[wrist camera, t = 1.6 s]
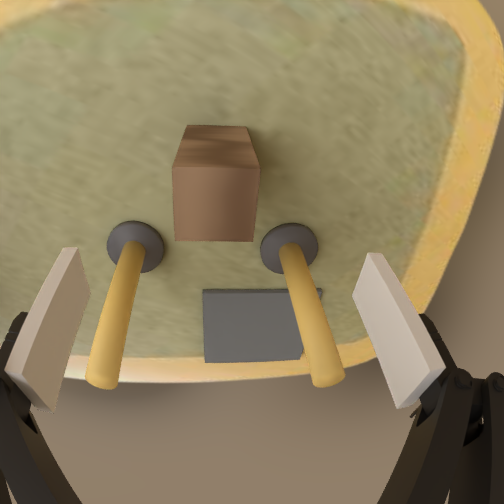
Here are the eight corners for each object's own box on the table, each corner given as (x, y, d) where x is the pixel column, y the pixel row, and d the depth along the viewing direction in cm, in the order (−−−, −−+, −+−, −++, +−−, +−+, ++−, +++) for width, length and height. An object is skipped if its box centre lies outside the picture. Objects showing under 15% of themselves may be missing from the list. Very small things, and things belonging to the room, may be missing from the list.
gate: (113, 267, 33) (77, 396, 20) (104, 221, 30) (48, 351, 17) (310, 269, 36) (353, 393, 23) (321, 224, 32) (381, 350, 20)
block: (186, 178, 28) (175, 240, 20) (187, 125, 25) (172, 167, 17) (241, 179, 29) (252, 241, 21) (245, 126, 26) (260, 169, 18)
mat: (204, 359, 44) (204, 362, 44) (202, 289, 36) (202, 293, 36) (298, 356, 46) (299, 359, 46) (320, 288, 38) (322, 292, 38)
